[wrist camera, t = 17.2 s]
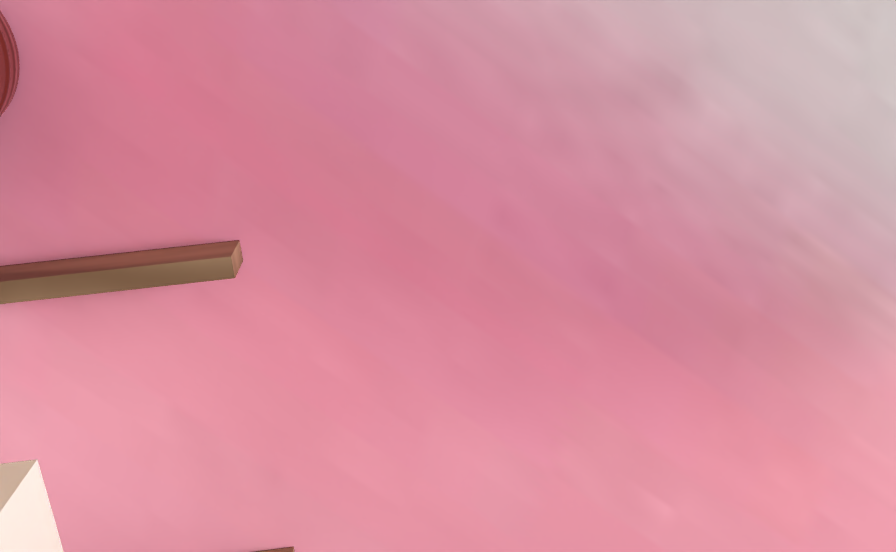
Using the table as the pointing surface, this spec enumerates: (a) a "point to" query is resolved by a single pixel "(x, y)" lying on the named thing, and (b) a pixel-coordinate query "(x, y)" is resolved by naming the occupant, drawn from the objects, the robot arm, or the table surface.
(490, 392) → the table surface
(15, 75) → the mug
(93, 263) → the bar
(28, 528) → the robot arm
